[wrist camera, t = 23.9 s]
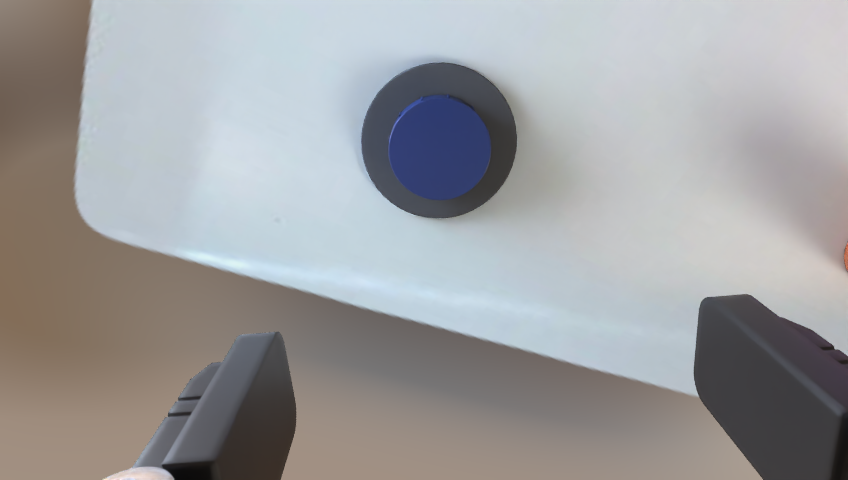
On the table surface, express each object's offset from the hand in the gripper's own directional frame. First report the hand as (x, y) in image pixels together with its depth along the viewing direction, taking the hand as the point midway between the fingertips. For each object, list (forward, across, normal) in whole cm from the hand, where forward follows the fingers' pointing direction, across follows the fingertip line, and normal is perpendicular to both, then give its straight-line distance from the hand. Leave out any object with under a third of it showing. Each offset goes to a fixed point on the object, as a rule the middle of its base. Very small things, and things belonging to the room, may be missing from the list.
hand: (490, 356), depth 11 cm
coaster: (+24, 0, 0) cm, 24 cm away
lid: (+22, 0, 0) cm, 22 cm away
